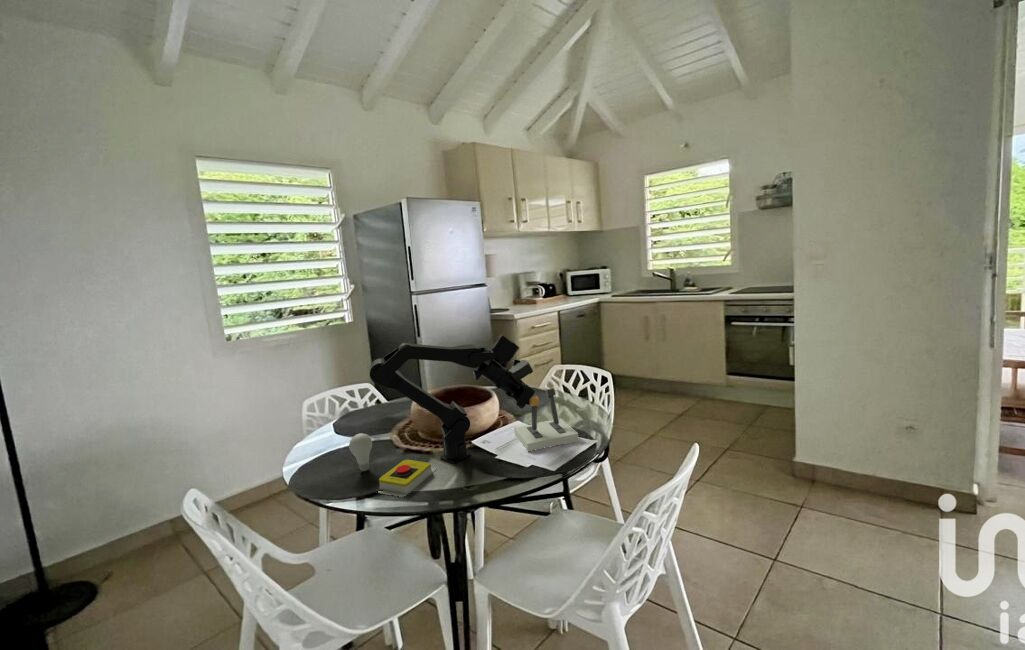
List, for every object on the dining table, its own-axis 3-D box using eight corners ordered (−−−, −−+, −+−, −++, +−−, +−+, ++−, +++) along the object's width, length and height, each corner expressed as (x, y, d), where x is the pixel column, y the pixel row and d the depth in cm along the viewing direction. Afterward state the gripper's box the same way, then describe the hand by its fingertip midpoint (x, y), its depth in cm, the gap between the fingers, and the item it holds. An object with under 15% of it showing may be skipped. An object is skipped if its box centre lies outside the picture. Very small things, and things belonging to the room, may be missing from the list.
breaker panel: (527, 452, 125) (523, 405, 123) (514, 435, 138) (511, 392, 135) (578, 441, 129) (575, 396, 127) (561, 425, 142) (558, 384, 139)
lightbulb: (355, 478, 118) (349, 441, 116) (351, 469, 124) (346, 433, 122) (377, 472, 121) (372, 435, 119) (373, 463, 126) (368, 427, 124)
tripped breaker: (531, 432, 131) (531, 400, 127) (529, 428, 132) (529, 397, 128) (539, 430, 131) (539, 399, 127) (537, 427, 133) (537, 396, 129)
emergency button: (372, 478, 110) (408, 451, 123) (374, 493, 111) (410, 465, 124) (401, 483, 106) (436, 455, 120) (404, 499, 107) (438, 470, 120)
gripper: (525, 360, 118) (564, 392, 124) (505, 347, 136) (540, 375, 141) (500, 393, 118) (540, 423, 123) (483, 375, 135) (519, 402, 140)
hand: (535, 404), depth 132 cm, fingers closed
